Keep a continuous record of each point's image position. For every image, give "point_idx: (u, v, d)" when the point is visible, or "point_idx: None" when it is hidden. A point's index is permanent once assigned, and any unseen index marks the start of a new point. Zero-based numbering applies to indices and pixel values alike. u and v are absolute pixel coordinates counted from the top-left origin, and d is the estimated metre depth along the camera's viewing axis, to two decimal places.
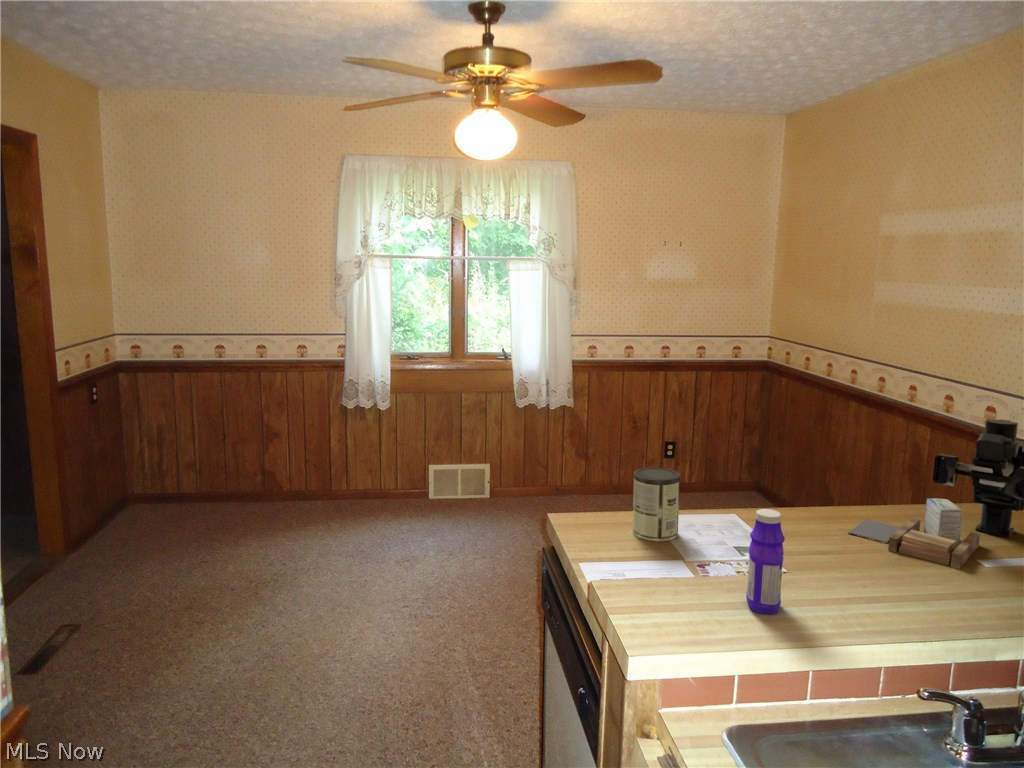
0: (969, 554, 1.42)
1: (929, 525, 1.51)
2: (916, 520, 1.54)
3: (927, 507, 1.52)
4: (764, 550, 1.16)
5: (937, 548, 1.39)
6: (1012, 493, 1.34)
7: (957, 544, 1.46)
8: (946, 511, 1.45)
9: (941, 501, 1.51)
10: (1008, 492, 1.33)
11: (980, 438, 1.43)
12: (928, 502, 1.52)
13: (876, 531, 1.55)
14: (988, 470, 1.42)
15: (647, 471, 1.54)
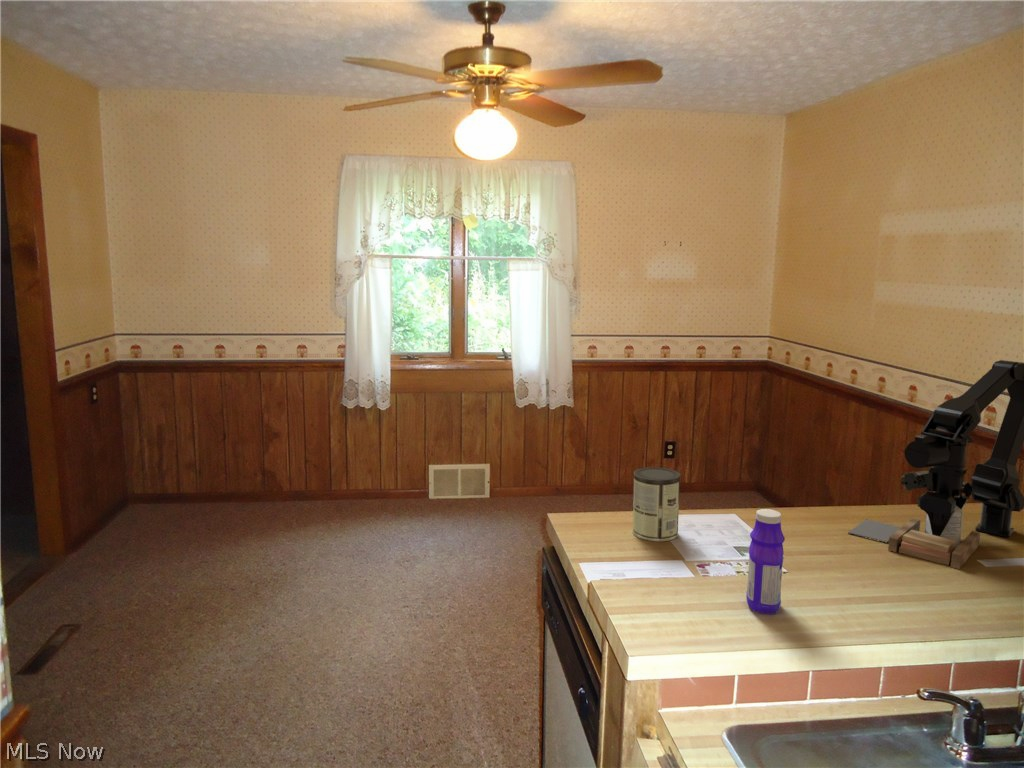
0: (969, 554, 1.42)
1: (930, 525, 1.51)
2: (916, 520, 1.54)
3: None
4: (765, 550, 1.16)
5: (937, 548, 1.39)
6: (941, 528, 1.45)
7: (957, 545, 1.46)
8: None
9: None
10: (939, 534, 1.46)
11: None
12: None
13: (876, 531, 1.55)
14: None
15: (647, 471, 1.54)
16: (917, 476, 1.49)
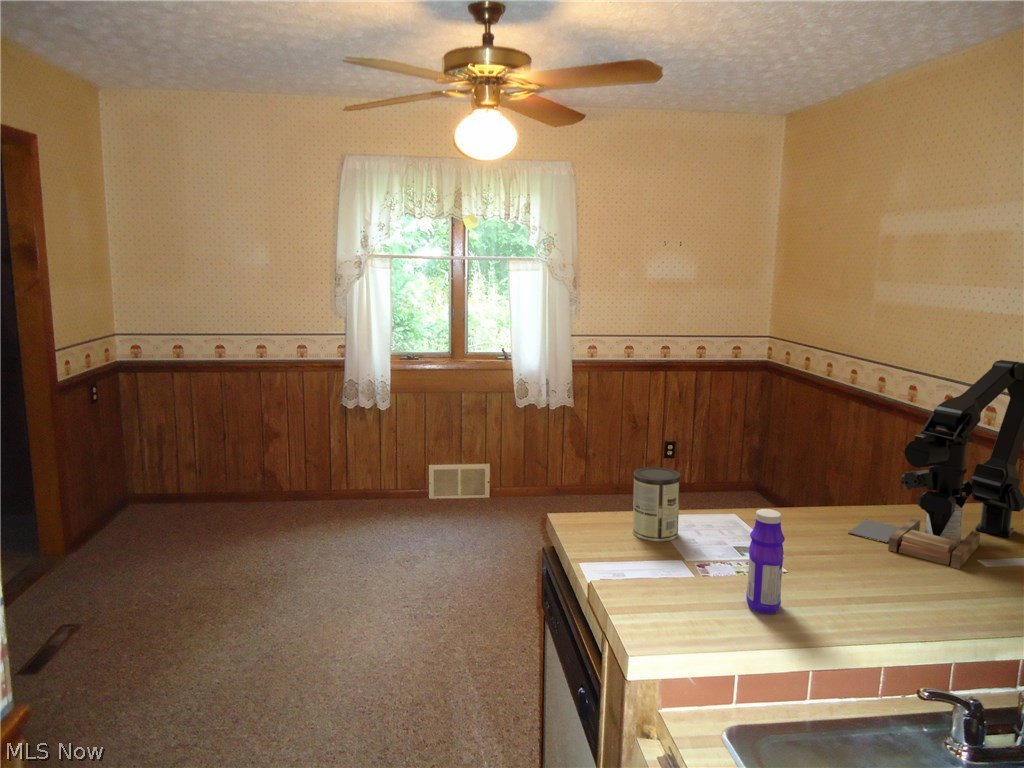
0: (969, 554, 1.42)
1: (930, 524, 1.51)
2: (916, 520, 1.54)
3: None
4: (764, 550, 1.16)
5: (937, 548, 1.39)
6: (942, 527, 1.45)
7: (958, 543, 1.46)
8: None
9: None
10: (939, 533, 1.46)
11: None
12: None
13: (876, 531, 1.55)
14: None
15: (647, 471, 1.54)
16: (917, 475, 1.49)
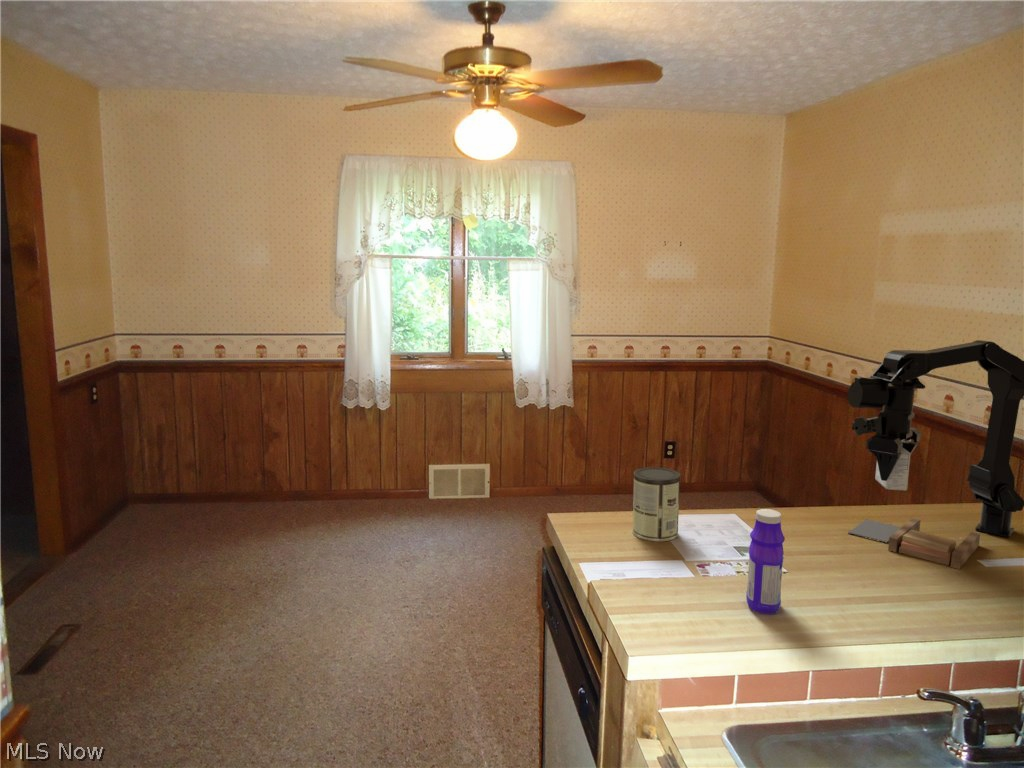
0: (969, 554, 1.42)
1: None
2: (916, 520, 1.54)
3: None
4: (764, 550, 1.16)
5: (937, 548, 1.39)
6: (889, 470, 1.48)
7: (905, 486, 1.48)
8: None
9: None
10: (887, 476, 1.48)
11: None
12: None
13: (876, 531, 1.55)
14: None
15: (647, 471, 1.54)
16: (867, 421, 1.52)
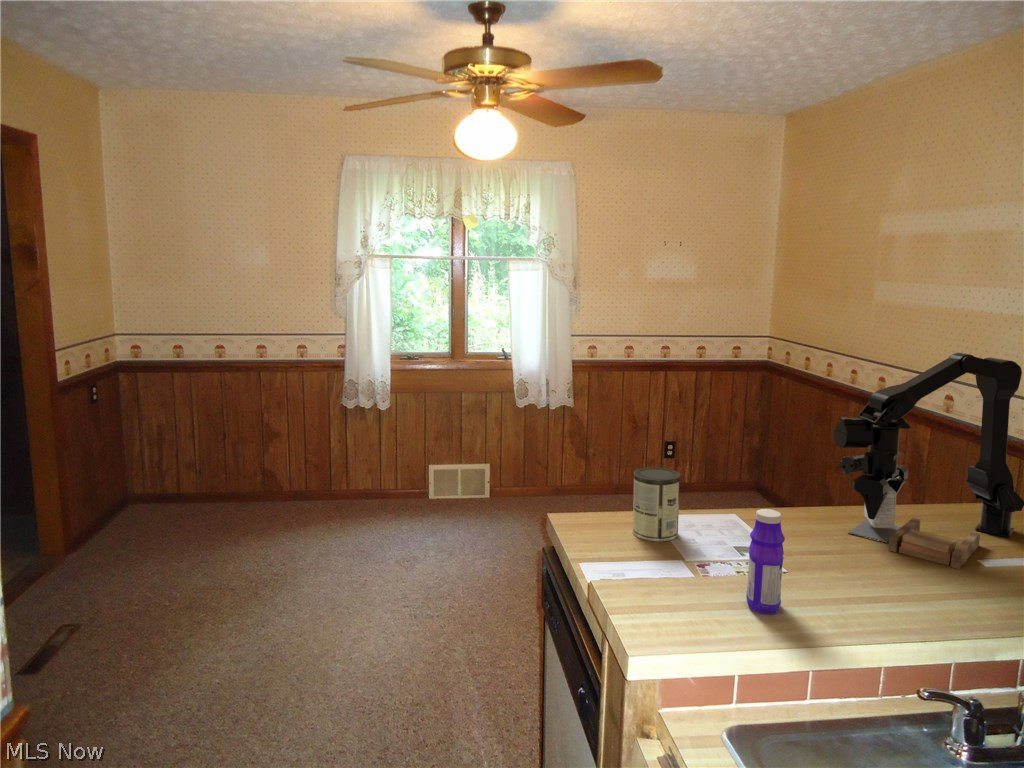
0: (969, 554, 1.42)
1: None
2: (916, 520, 1.54)
3: None
4: (764, 550, 1.16)
5: (937, 548, 1.39)
6: (876, 509, 1.50)
7: (892, 525, 1.51)
8: None
9: None
10: (874, 515, 1.51)
11: None
12: None
13: (876, 531, 1.55)
14: None
15: (647, 471, 1.54)
16: (854, 460, 1.55)
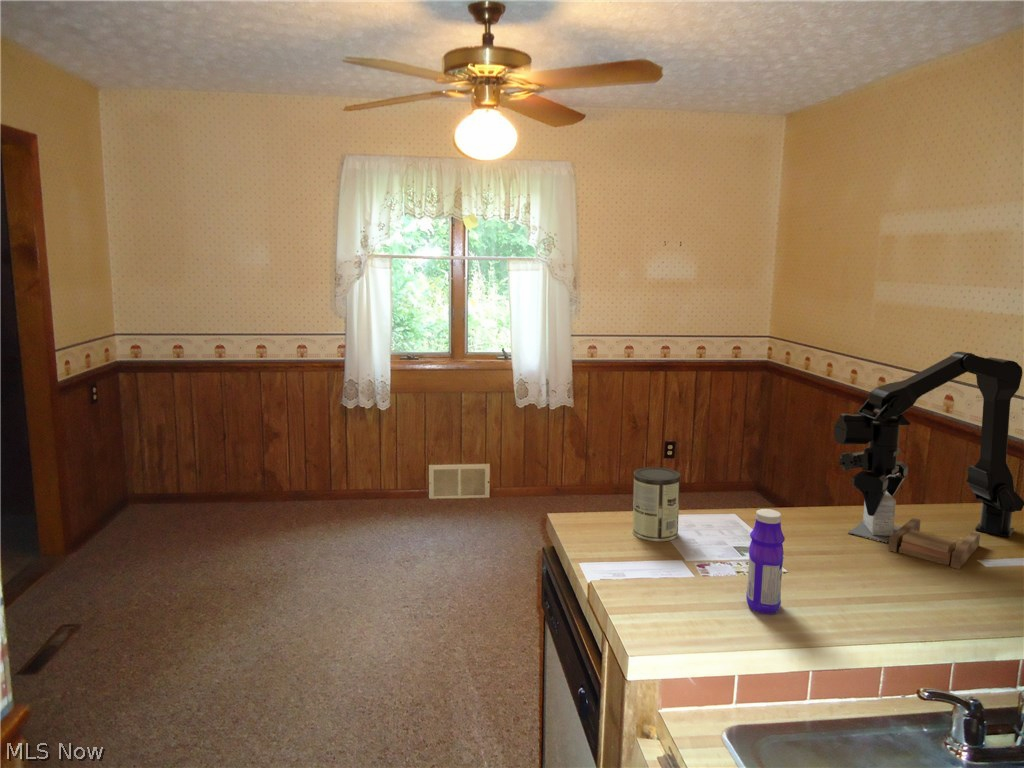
0: (969, 554, 1.42)
1: (867, 514, 1.56)
2: (916, 520, 1.54)
3: None
4: (764, 550, 1.16)
5: (937, 548, 1.39)
6: (875, 506, 1.50)
7: (891, 532, 1.51)
8: None
9: None
10: (873, 511, 1.51)
11: None
12: None
13: None
14: None
15: (647, 471, 1.54)
16: (853, 456, 1.54)
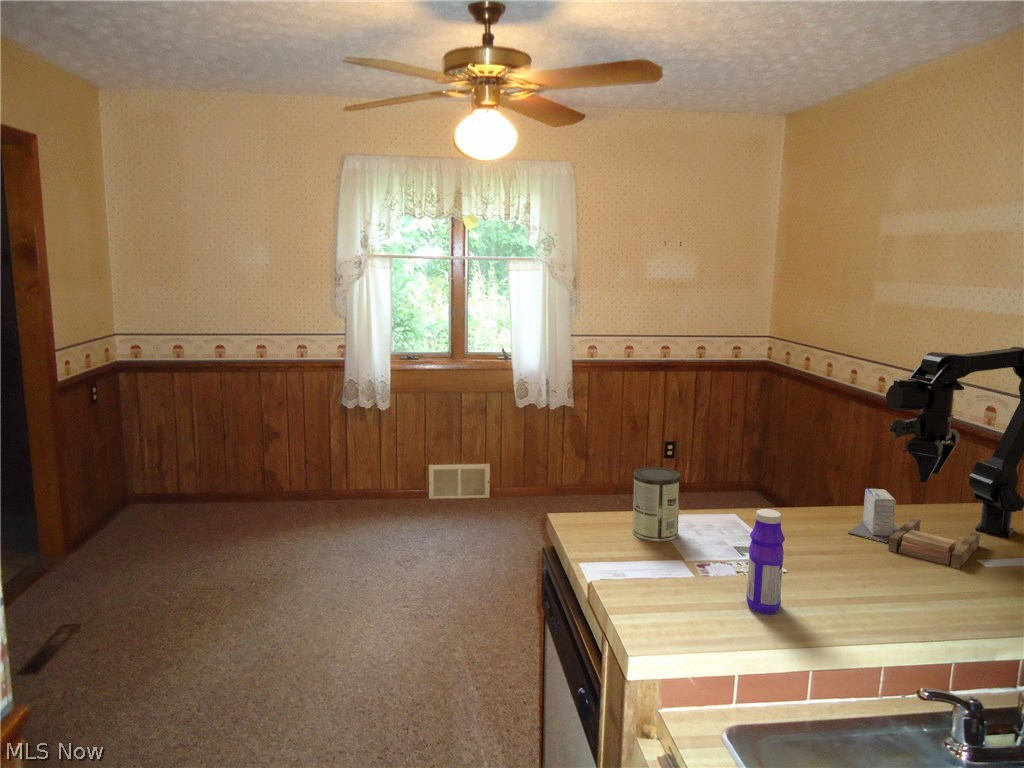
0: (969, 554, 1.42)
1: (867, 514, 1.56)
2: (916, 520, 1.54)
3: (865, 497, 1.58)
4: (764, 550, 1.16)
5: (937, 548, 1.39)
6: (929, 472, 1.48)
7: (891, 532, 1.51)
8: (880, 500, 1.51)
9: (878, 491, 1.56)
10: (927, 478, 1.49)
11: None
12: (866, 492, 1.58)
13: None
14: None
15: (647, 471, 1.54)
16: (905, 423, 1.52)
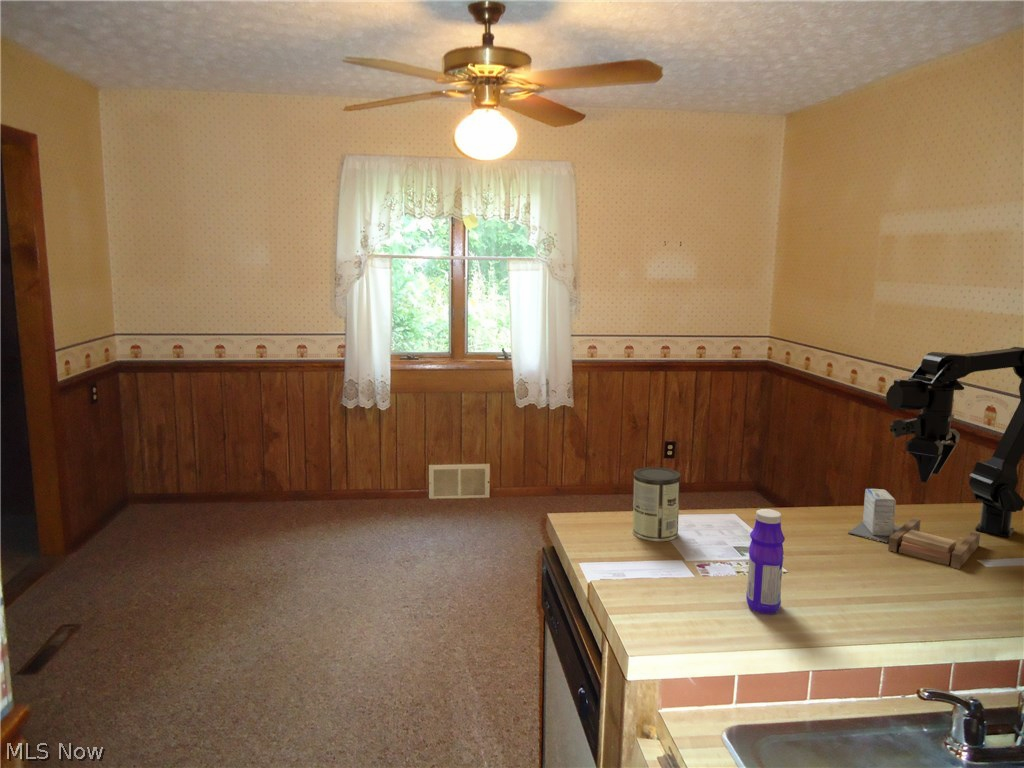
0: (969, 554, 1.42)
1: (867, 514, 1.56)
2: (916, 520, 1.54)
3: (865, 497, 1.58)
4: (764, 550, 1.16)
5: (937, 548, 1.39)
6: (929, 472, 1.48)
7: (891, 532, 1.51)
8: (880, 500, 1.51)
9: (878, 491, 1.56)
10: (927, 478, 1.49)
11: None
12: (866, 492, 1.58)
13: None
14: None
15: (647, 471, 1.54)
16: (906, 423, 1.52)
